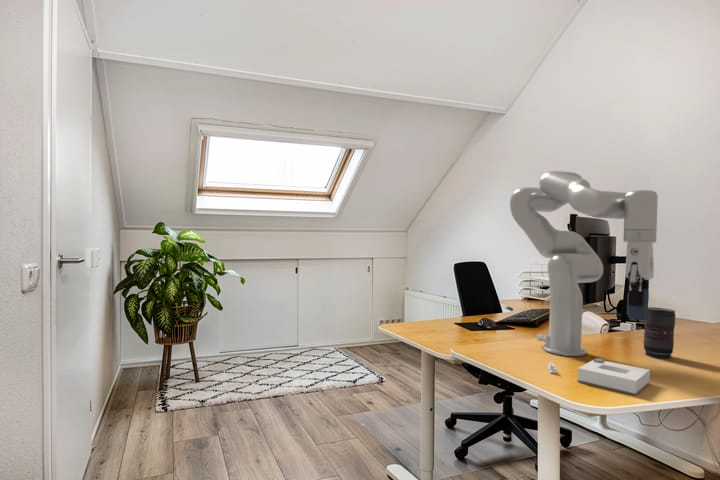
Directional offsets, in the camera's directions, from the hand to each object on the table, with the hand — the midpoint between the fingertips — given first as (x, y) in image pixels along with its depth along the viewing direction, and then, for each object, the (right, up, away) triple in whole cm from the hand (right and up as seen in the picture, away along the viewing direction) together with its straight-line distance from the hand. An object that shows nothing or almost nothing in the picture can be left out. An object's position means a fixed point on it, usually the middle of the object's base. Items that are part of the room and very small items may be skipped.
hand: (637, 304), depth 122 cm
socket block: (-10, -19, -6) cm, 22 cm away
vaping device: (0, -4, 0) cm, 4 cm away
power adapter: (-21, -19, +1) cm, 29 cm away
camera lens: (+19, -20, +21) cm, 35 cm away
